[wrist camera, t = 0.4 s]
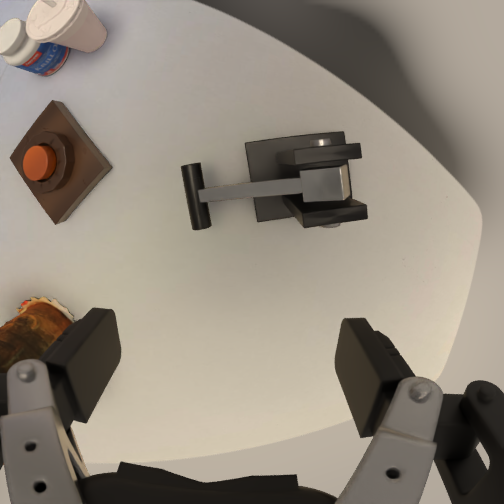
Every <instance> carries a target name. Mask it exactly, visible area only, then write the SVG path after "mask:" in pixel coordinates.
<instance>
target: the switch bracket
mask: <svg viewBox="0 0 504 504" xmlns="http://www.w3.org/2000/svg"><path fill="white" fill-rule="evenodd" d="M245 148H246V154H247V160H248V166H249V172H250V179H251V182H255V181H263V180H272V179H282V178H291V177H300V170H303V169H306V168H310V167H320V166H332V165H344V164H346V165H347V170H348V179H349V188H350V195H349V196H348V197H347V198H346V199H345V200H344V201H326V202H309V203H304V201H303V193H300V194H287V195H275V196H263V197H254V204H255V210H256V217H257V222H263V221H270V220H276V219H283V218H290V217H295V218H296V219H297V220H298V221H299V223H300V224H301V225H302V226H303V227H304V228H309V227H316V226H321V227H323V228H333V227H337V226H340V223H343V222H350V221H357V220H364V219H368V215H367V205H366V204H364V203H361V202H359V201H357V200H354V199H352V190H351V181H350V172H349V164H348V160H349V159H359V158H362V154H361V146H360V143H352V144H346V142H345V135H344V132H343V131H342V132H329V133H318V134H308V135H299V136H291V137H282V138H275V139H267V140H260V141H253V142H247V143H245Z"/></svg>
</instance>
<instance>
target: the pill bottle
mask: <svg viewBox="0 0 504 504" xmlns="http://www.w3.org/2000/svg"><path fill="white" fill-rule="evenodd" d="M68 52H69V47H66V46H63V45H59V44H55V43H51V42H46V43H38V42H36V41H34V40H33V39H31V38H30V37H29V36H28V35H27V32H26V21H25V22H24V21H22V20H20V19H17V18H13V19H11V20H9V21H7V22H6V23H5V24H4V25H3V26H2V27H1V28H0V55H2V56H3V57H4V60H5V61H6V63H8V64H9V65H12V66H15V67H18V68H21V69H24V70H26V71H29V72H33V73H35V74H38V75H42V76H47V75H51V74H53V73H54V72H56V71H57V70H58V69H59V68H60V67H61V66H62V65H63V64H64V62H65V60H66V58H67V56H68Z"/></svg>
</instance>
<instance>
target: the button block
mask: <svg viewBox="0 0 504 504" xmlns="http://www.w3.org/2000/svg"><path fill="white" fill-rule="evenodd" d="M33 146H49V147H51V148H52V149H53V150H54V152H55V155H56V167H55V170H54V172H53V174H52V175H51V176H50V177H49V178H47V179H42V180H37V181H33V180H30V179H29V178H28V177H27V176H26V175H25V173H24V169H23V160H24V157H25V154H26V152H27V151H28V150H29V149H30V148H31V147H33ZM10 159H11V161H12V163H13V164H14V166H15V167H16V169H17V171H18V172H19V174H20V175H21V177H22V178H23V180H24V181H25V183H26V184H27V186H28V187H29V189H30V190H31V192H32V193H33V194H34V196H35V197H36V199H37V200H38V202H39V203H40V204H41V206H42V207H43V209H44V210H45V211H46V213H47V214H48V215H49V217H50V218H51V220H52V221H53V222H54V224H55V225H56V224H59V223H61V222H64V221H65V220H66V219H67V218H68V217H69V215H70V214H71V213H72V212H73V211H74V209H75V208H76V207H77V206H78V205H79V204H80V202H81V201H82V200H83V199H84V198H85V197H86V196H87V194H88V193H89V192H90V191H91V190H92V189H93V188H94V187H95V185H96V184H97V183H98V182H99V181H100V180H101V179H102V178H103V177H104V176H105V175H106V174H107V173H108V172H109V170H110V169H111V168H112V166H111V165H110V164H109V163H108V161H107V160H106V159H105V158H104V156H103V155H102V154H101V153H100V151H99V150H98V149H97V147H96V146H95V145H94V144H93V142H92V141H91V140H90V139H89V137H88V136H87V135H86V133H85V132H84V131H83V129H82V128H81V127H80V126H79V124H78V123H77V122H76V120H75V119H74V118H73V116H72V115H71V114H70V112H69V111H68V110H67V108H66V107H65V106H64V104H63V103H62V102H59V101H54V100H52V101H51V102H50V103H49V105H48V106H47V107H46V108H45V110H44V111H43V112H42V113H41V115H40V116H39V117H38V118H37V120H36V121H35V122H34V124H33V125H32V126H31V128H30V129H29V130H28V132H27V133H26V135H25V136H24V137H23V139H22V140H21V142H20V143H19V144H18V146H17V147H16V149H15V150H14V152H13V153H12V155H11V156H10Z"/></svg>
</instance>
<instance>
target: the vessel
mask: <svg viewBox="0 0 504 504" xmlns="http://www.w3.org/2000/svg"><path fill="white" fill-rule="evenodd" d="M30 298H31V300H32V301H24V302H23V303H22V304H21V306H22V308H21V309H20V310H18V309H17V308H16V309H17V311H18V312H19V313H20V315H19V316H17V317H15V318H13V319H12V320H11V321H8V322H6V323H5V324H4V326H2V327H0V373H8V370H9V369H10V368H11V367H12V366H13V365H14V364H16V363H17V362H19V361H22V360H26V359H37V360H38V359H39V358H40V357H41V356H42V355H43V353H44V352H45V351H46V350H47V349H48V348H49V347H50V346H51V344H52V343H53V342H54V341H56V340H57V338H58V337H59V336H60V335H61V334H62V332H63V331H64V330H65V329H66V328H67V327H68V326H69V325H70V324H72V323H74V321H72V319H73V317H74V316H73V315H71V314H69V312H68V309H67V308H65V307H62V306H61V305H60V304H59V303H58V301H57V300H56V299H53V300H52V301H51V302H50V301H49V300H48V299H46V298H45V297H42V298H40V299H38V300H37V299H36V298H32V297H30ZM3 465H4V464H3Z"/></svg>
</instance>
